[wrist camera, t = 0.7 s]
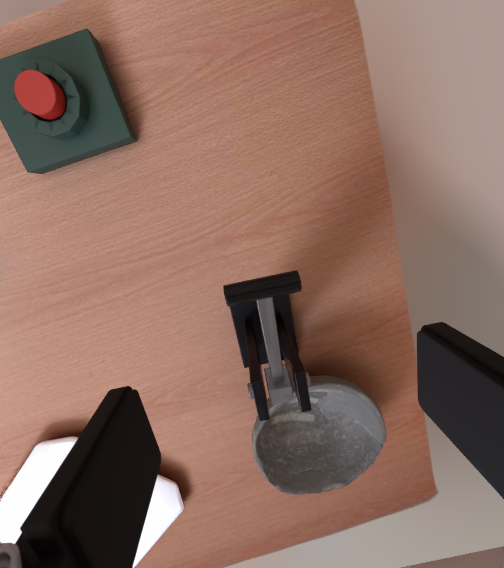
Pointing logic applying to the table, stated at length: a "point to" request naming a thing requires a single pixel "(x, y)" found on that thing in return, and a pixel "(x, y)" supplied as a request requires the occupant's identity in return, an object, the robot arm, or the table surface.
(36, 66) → the button box
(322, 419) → the bowl
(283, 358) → the bracket
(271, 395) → the lever
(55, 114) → the button
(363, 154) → the table surface
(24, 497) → the plate
